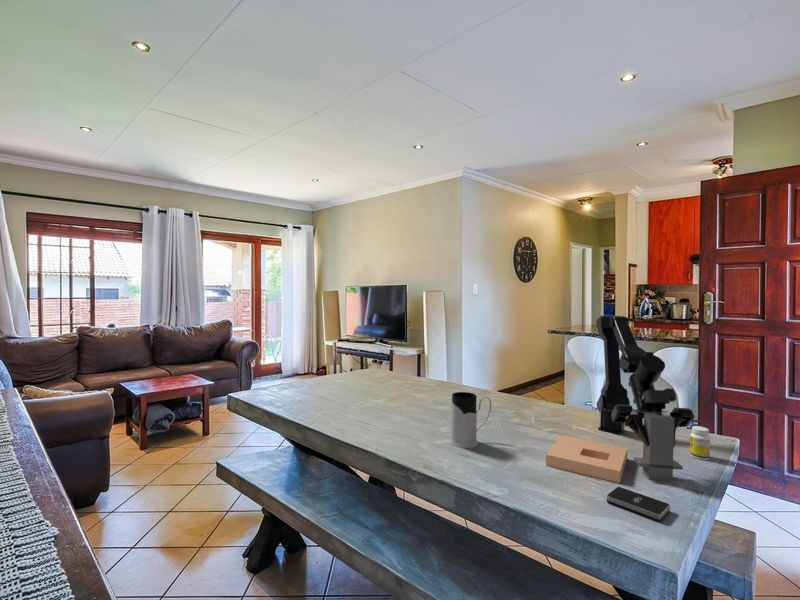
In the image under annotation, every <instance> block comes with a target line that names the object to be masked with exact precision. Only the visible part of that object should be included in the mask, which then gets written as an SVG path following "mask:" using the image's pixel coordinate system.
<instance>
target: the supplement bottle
mask: <svg viewBox="0 0 800 600" xmlns="http://www.w3.org/2000/svg"><path fill="white" fill-rule="evenodd" d="M689 435H690V436H689V455H690V456H691V457H692V458H695V459H697V460H701V461H702V460H703V461H705V460H706V461H708V460H710V458H711V457H710V456H711V437H710V436H709V435H710V430H709V428H707V427H704V426H700V425H694V426H692V427H691V433H690V434H689Z"/></svg>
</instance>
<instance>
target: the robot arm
mask: <svg viewBox="0 0 800 600" xmlns="http://www.w3.org/2000/svg"><path fill="white" fill-rule="evenodd" d="M595 326H596V328H597V333H598V335H599V337H600V338H601V340H602V341H603V350H604V351H603V353H604V356H603V357H604V374H605V384H604V385H603V386H602V388H601V390H600V396H599V398H598V400H597V402H596V410H597V411H598V413H600V423H599V425H600V426H599V427H598V428H597V429H598V430H600V431H603V432H607V433H612V434H615V435H618V434H621V433H622V432H624V431H625V427H629V429H631V430H632V431H633V432H634V433H635V434H636V435H637V436H638V438H639V439H640V440H641V442H642V443H643V442H644V443H645V445H646V446H649V440H648V437H647V434H646V431H645V428H644V413H657V414H662V411H663V410H665V409H667V407H666V404H670V403H672V402H675V401H677V395H676V392H675V389H674V388H667V387H666V388H664V389H662V390H661V389H656V388H655V385H654V384H655V383H656V382H657V381H658V380H659V379H660V377H661V376H662V373H663V372H664V370H665V368H666V363H665V361H664V360H663V359H661V358H660V357H658V355H657V356H656V355H654V352H653V351H645V349H644V348H642V347H640V346H639V345H638V343H637V341H636V338H635V336H634V333H633V332H632V329H631V327H630V322H629V318H628V317H627V316H625V315H622V316H621V315H600V316H599V317H597V318H596V321H595ZM620 352H621V354H620ZM621 370H622V372H623V373H625V374H631V375H629V378H628V387H630V389H631V391H632V395H633V399H632V402H633V404H635V407H636V408H633V406H632V405H631V404H630V403H631V401H630V398H629V397H628V390H627V388H625V387H624V385H623V384H622V379H621V378H622V376H621ZM669 412H670V416H671V417H672V418H674V447H675V446H676V445H675V444H676V433H677V429H678V428H686V427H689V425H690V424H691V422H693V420H694V419H695V414H694V412H693V410H692V409H690V408H688V407H674V408H673V409H672V410H671V411H669Z"/></svg>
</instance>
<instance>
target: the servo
mask: <svg viewBox="0 0 800 600" xmlns="http://www.w3.org/2000/svg"><path fill="white" fill-rule="evenodd" d="M670 412H671V411H669V410H665V409H662V414H657V413H644V418H643V425H644V428H645V431H646V434H647V437H648V440H649V446H646V445H645V443H644V442H643V441H642V443H643V444H642V445H643V446H642V457H638V456H637V457H636V456H633V461H634V462H635V463H636V465H638V467H641V468H642V474H643V475H644V476H645V477H646V478H647V479H648V481H649V480H650V481H665V482H673V475H674V470H683V468H684V467H683V465H682V464H680V463H679V462H678V461H677V460H676V459H674V448H675V446H674V418H672V417H671V416H670Z"/></svg>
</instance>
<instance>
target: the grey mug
mask: <svg viewBox="0 0 800 600" xmlns="http://www.w3.org/2000/svg"><path fill="white" fill-rule="evenodd" d="M451 395H452V396H451V408H450V409H451V410H450V411H451V412H450V413H451V414H450V415H451V417H450V420H451V421H450V425H451V426H450V428H451V429H450V439H449V444H450V445H451V446H453V447H456V448H463V449H470V448H471V449H472V448H475V447H477V446H478V445H479V444H478V439H477V432H478V431H479V430H480V429H481V428H482V427H483V425H484V424H485V423H487V421H488V419H489V418H490V414H491V412H492V400H491V398H490V397H488V396H483V397H482V396H481V398H480V399H479V401H478V408H477V394H475V393H473V392H468V391H458V392H457V391H456V392H453V393H452V394H451ZM484 399H487V400H488V401H489V408H488V413H487V415H486V417H485V419H484V420H483V421H482V422H481V424H480V425H479V426H478V427H477V424H478V423H477V422H478V418H477V417H478V412H479V411H481V406H482V405H481V404H482V401H483V400H484Z"/></svg>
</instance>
